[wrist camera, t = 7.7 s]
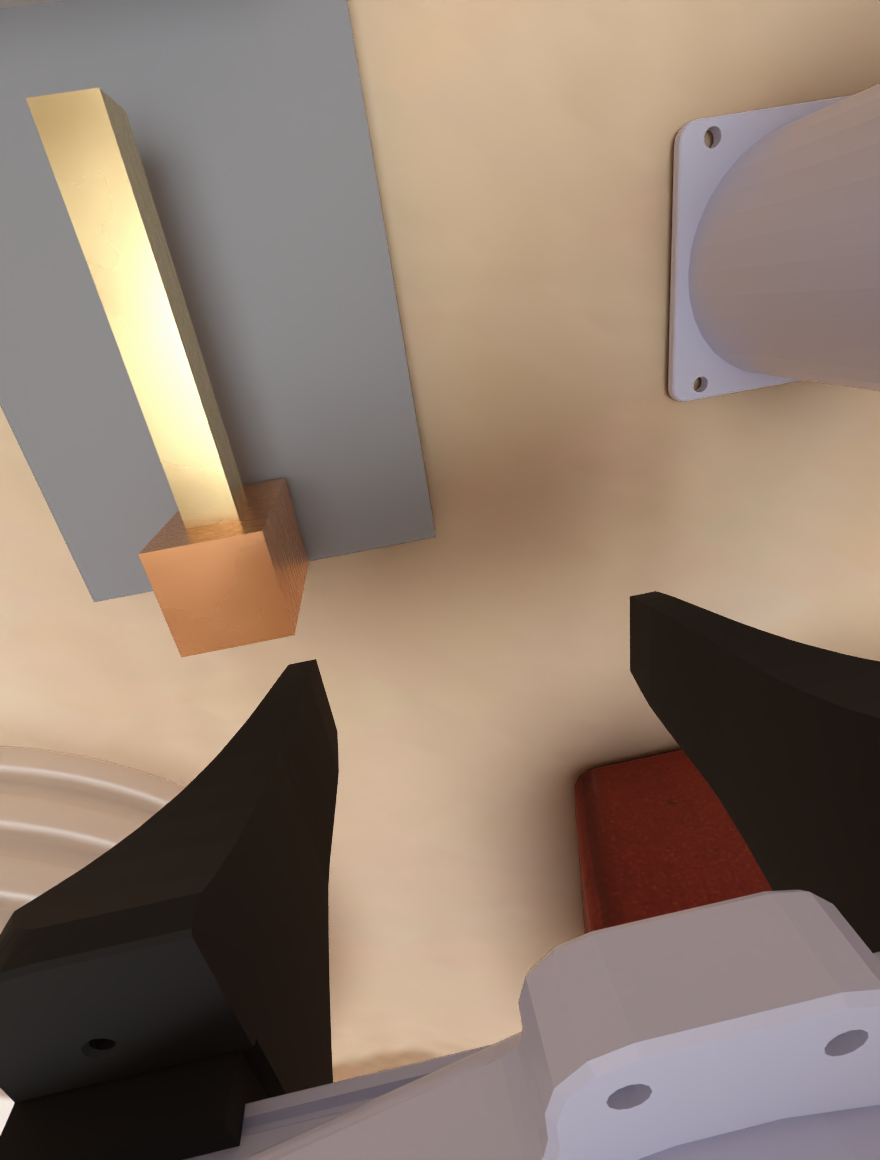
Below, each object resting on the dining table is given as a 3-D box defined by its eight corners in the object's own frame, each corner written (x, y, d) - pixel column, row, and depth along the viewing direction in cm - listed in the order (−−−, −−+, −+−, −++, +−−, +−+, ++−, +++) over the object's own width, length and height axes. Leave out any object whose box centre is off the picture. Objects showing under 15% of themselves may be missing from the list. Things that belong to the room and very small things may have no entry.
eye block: (291, -315, 13) (224, -948, 6) (431, 525, 21) (462, 614, 15) (-278, -254, 12) (-990, -891, 6) (108, 587, 21) (-2, 706, 14)
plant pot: (533, 976, 34) (672, 1498, 19) (495, 734, 26) (688, 1320, 11) (832, 903, 35) (1190, 1346, 20) (888, 647, 27) (1571, 1075, 12)
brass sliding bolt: (190, 135, 14) (114, 53, 10) (309, 561, 20) (294, 635, 15) (70, 153, 14) (-62, 78, 10) (221, 578, 19) (181, 657, 15)
